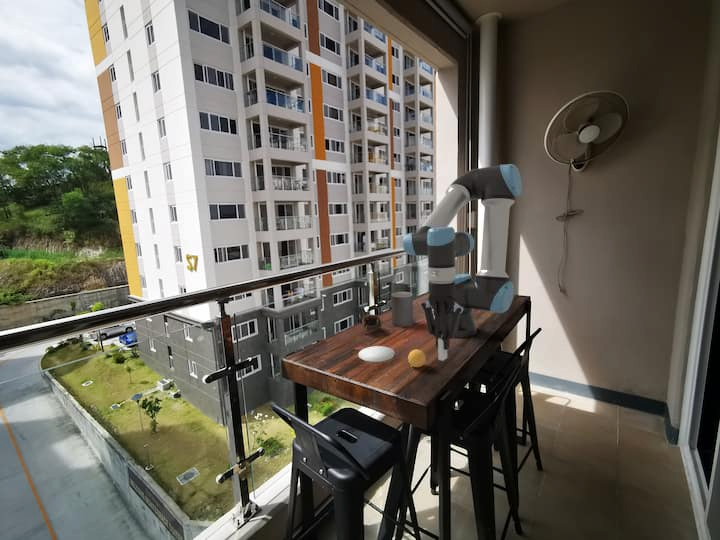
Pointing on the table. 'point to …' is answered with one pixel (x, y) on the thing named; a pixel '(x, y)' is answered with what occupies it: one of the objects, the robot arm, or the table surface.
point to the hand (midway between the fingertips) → (442, 358)
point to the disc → (376, 354)
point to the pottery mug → (370, 323)
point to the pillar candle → (402, 309)
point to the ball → (416, 358)
